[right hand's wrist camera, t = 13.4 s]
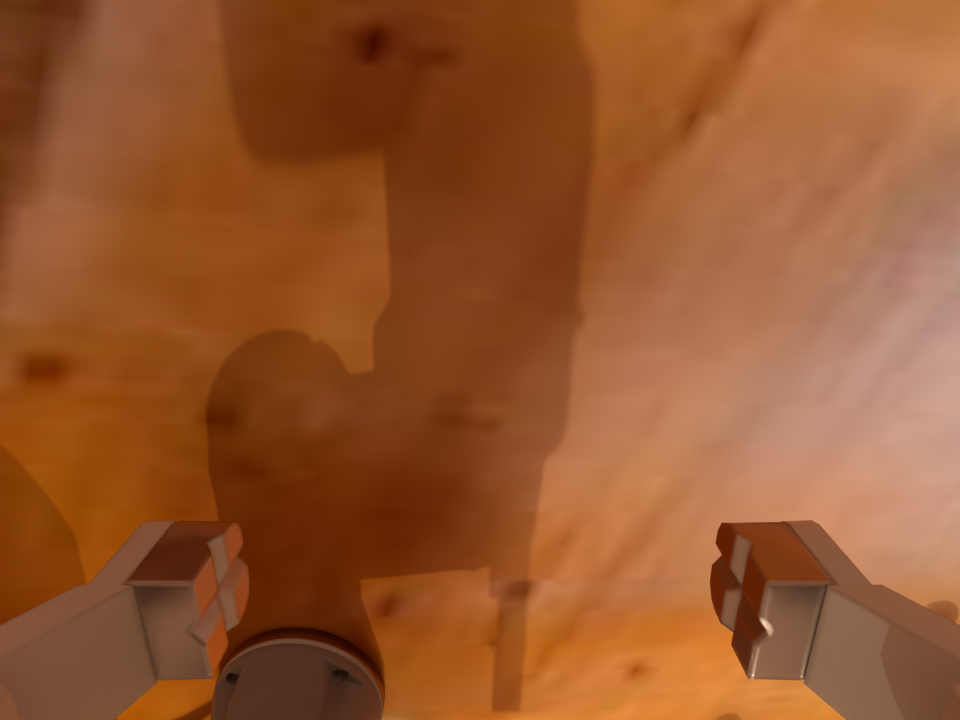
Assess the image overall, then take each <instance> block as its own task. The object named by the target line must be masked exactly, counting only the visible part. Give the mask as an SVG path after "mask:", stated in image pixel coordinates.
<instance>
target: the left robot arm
mask: <svg viewBox="0 0 960 720" xmlns="http://www.w3.org/2000/svg"><path fill="white" fill-rule="evenodd" d="M384 700H385V693H384V686H383V682H382V679H381V677H380V675H379V673H378V671H377V669H376V668H375V666H374V665H373V664H372V662H371V661H370V660H369V659H368V658H367V657H366V656H365V655H364V654H363V653H362V652H361V651H359V650H358V649H357V648H355V647H354V646H352V645H351V644H349V643H347V642H345V641H343V640H341V639H339V638H337V637H334V636H332V635H329V634H325V633H322V632H317V631H312V630H304V629H284V630H277V631H272V632H267V633H264V634H261V635H258V636H256V637H254V638H252V639H250V640H248V641H246V642H245V643H243V644H242V645H241V646H239V647H238V648H237V649H236V650H235V651H234V652H233V653H232V654H231V655H230V657H229V658H228V660H227V661H226V663H225V665H224V667H223V669H222V671H221V674H220V676H219V678H218V680H217V682H216V685H215V690H214V694H213V701H212V711H211V720H381V718H382V713H383V707H384Z"/></svg>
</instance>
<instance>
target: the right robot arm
mask: <svg viewBox="0 0 960 720" xmlns="http://www.w3.org/2000/svg"><path fill="white" fill-rule="evenodd" d="M243 545H244V539H243V534H242V529H241V526H240V525H239V524H237V523H236V522H207V521H178V522H177V521H148V522H145V523H142V524H141V525H140V526H139V527H138V528H137V529H136V530H135V532H134V533H133V534H132V535H131V536H130V537H129V538H128V540H127V541H126V542H125V543H124V544H123V545H122V547H121V548H120V549H119V550H118V551H117V552H116V553H115V555H114V556H113V557H112V558H111V559H110V560H109V561H108V563H107V564H106V565H105V566H104V567H103V568H102V569H101V571H100V572H99V573H98V574H97V575H96V576H95V577H94V579H93V580H92V581H91V582H90V583H89V584H88V585H77V586H75V587H73V588H71V589H69V590H67V591H66V592H64V593H62V594H60V595H58V596H56V597H54V598H52V599H50V600H48V601H46V602H44V603H42V604H40V605H38V606H36V607H34V608H32V609H31V610H29V611H27V612H25V613H23V614H21V615H19V616H17V617H15V618H13V619H11V620H9V621H7V622H5V623H3V624H1V625H0V720H114V719H115V718H116V717H118V716H119V715H120V714H121V713H122V712H123V711H125V710H126V709H127V708H128V707H129V706H130V705H132V704H133V703H134V702H135V701H136V700H138V699H139V698H140V697H141V696H142V695H143V694H145V693H146V692H147V691H148V690H149V689H150V688H152V687H153V686H154V685H155V684H156V680H187V679H212V677H213V675H214V673H215V671H216V669H217V667H218V665H219V663H220V661H221V659H222V657H223V655H224V653H225V651H226V649H227V647H228V645H229V643H228V638H227V632H228V631H229V630H230V629H232V628H233V627H235V626H236V625H237V624H239V623H240V620H241V618H242V616H243V614H244V612H245V610H246V605H247V601H248V596H249V592H250V575H249V569H248V565H247V564H246V563H245V562H244V561H243V560H242V559H241V558H240V557H239V556H238V554H239V552H240V550H241V548H242V547H243ZM716 545H717V547H718V548H719V550H720V552H721V554H722V556H721V557H720V558H719V559H718V560H717V561H716V562H715V563H714V564H713V565H712V569H711V577H710V588H711V599H712V602H713V606H714V609H715V612H716V614H717V616H718V618H719V620H720V623H721V624H723V625H724V626H725V627H727V628H728V629H730V630H731V631H732V632H733V638H732V643H731V645H732V647H733V649H734V651H735V653H736V655H737V657H738V659H739V661H740V663H741V665H742V667H743V669H744V671H745V673H746V675H747V677H748V679H772V680H804V684H805V685H806V686H808V687H809V688H810V689H811V690H812V691H813V692H815V693H816V694H817V695H818V696H819V697H820V698H822V699H823V700H824V701H825V702H826V703H827V704H829V705H830V706H831V707H832V708H833V709H834V710H836V711H837V712H838V713H839V714H840V715H841V716H843V717H844V718H845V719H846V720H960V625H958V624H956V623H955V622H953V621H951V620H949V619H947V618H945V617H943V616H941V615H939V614H937V613H935V612H933V611H931V610H929V609H927V608H925V607H924V606H922V605H920V604H918V603H916V602H914V601H912V600H910V599H908V598H906V597H904V596H902V595H900V594H898V593H896V592H894V591H893V590H891V589H889V588H887V587H885V586H883V585H872V584H871V583H870V582H869V581H868V580H867V579H866V577H865V576H864V575H863V574H862V573H861V572H860V571H859V569H858V568H857V567H856V566H855V565H854V564H853V563H852V561H851V560H850V559H849V558H848V557H847V556H846V555H845V553H844V552H843V551H842V550H841V549H840V548H839V547H838V545H837V544H836V543H835V542H834V541H833V540H832V539H831V537H830V536H829V535H828V534H827V533H826V532H825V531H824V529H823V528H822V527H821V526H820V525H819V524H818V523H816V522H814V521H812V520H808V521H781V522H748V523H721V525H720V527H719V529H718V532H717V538H716Z"/></svg>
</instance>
